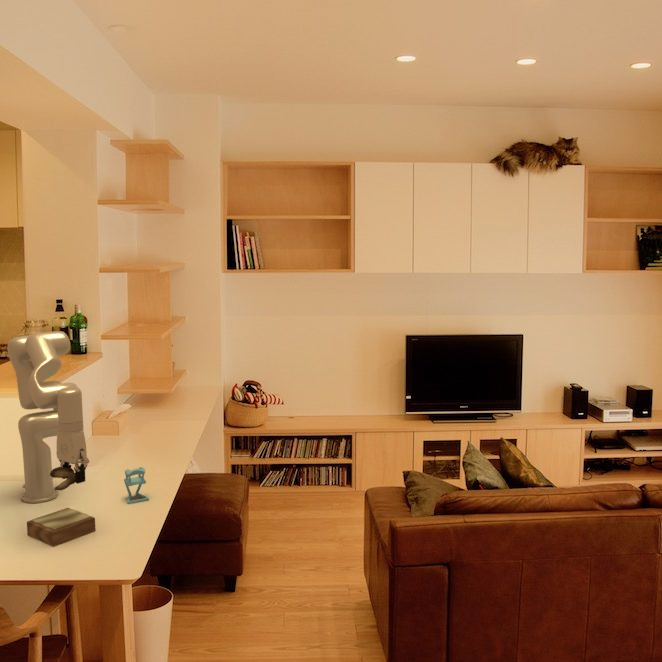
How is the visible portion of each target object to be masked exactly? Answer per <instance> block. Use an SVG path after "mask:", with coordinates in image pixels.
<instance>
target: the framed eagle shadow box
mask: <svg viewBox="0 0 662 662" xmlns="http://www.w3.org/2000/svg"><path fill="white" fill-rule="evenodd" d="M94 532H96V517H94V516H92V515H88V514H86V513H84V512H81V511H78V510H75V509H73V508H70V507H66V508H63V509H60V510H56V511H53V512H50V513H48V514H45V515H42V516H39V517H35V518H33V519H31V520H30V519H29V520H28V521H27V520H26V533H27V536H29V537H31V538H34V539H36V540H38V541H41V542H43V543H45V544H47V545H49V546H52V547H57V546H60V545H62V544H64V543H67V542H70V541H72V540H75V539H78V538H80V537H83V536H86V535H88V534H91V533H94Z"/></svg>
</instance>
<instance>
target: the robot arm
mask: <svg viewBox="0 0 662 662" xmlns="http://www.w3.org/2000/svg"><path fill="white" fill-rule="evenodd" d="M70 350H71V342H70V338H69V336H68V335H67V333H65V332H64V331H61V330H59V331H58V330H57V331H56V330H55V331H44V332H37V333H35V332H34V333H33V334H30V335H29V334H28V335H20V336H15V337H13V338H11V339H9V340H8V342H7V355H8V358H9V360H10V363H11V365H12V367H13V369H14V372H15V375H16V382H17V383H16V384H17V390H18V391H17V394H18V400H19V403H20V406H21V408H23V409H24V410H37V409H39V410H47V409H52V410H47V411H38V412H37V411H36V412H32V413H28V414H25V415H23V416H22V417H20V418H19V420H18V422H17V428H18V432H19V436H20V440H21V448H22V449H21V450H22V457H23V458H22V459H23V460H22V462H23V476H24V484H23V485H22V488H23V489H24V493H23V494H22V495H21V497H20V499H21V501H22V502H24V503H29V504H39V503H45V502H49V501H51V500H53V499H56V498H57V497H58V496H59V492H58V491H59V490H54V481H53V480H54V477H52V476H50V475H49V474H50V472H51V471H52V470H53V462H52V449H51V447H50V446H49V444H47V443H46V442H45V441H44V439H47V438H51V437H56V458H57V459H58V461H59V462H60V463H59V464H60V466H59V467H64V468H72V465H74V467H75V468H76V470H77V471H76V472H75V471H74V473H75V475H76V482H75V483H76V484H81V483H84V482H86V470H87V467H88V465H89V463H90V460H89V457H88V456H87V454H88V453H87V442H86V436H85V433H84V414H83V394H82V390H81V389H80V388H79V387H78V385H77V384H75V383H74V382H64V383H62V382H61V381H59V380H48V379H49V378H51V377H53V376H54V375H56V374H57V373H59V372H60V369H61V368H62V360H61V359H60V356H64V355H67V354H69V352H70ZM46 380H47V381H46ZM71 464H72V465H71ZM79 464H80V465H79ZM61 479H62V480H66V479H67V478H61Z"/></svg>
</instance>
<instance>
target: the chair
mask: <svg viewBox="0 0 662 662" xmlns="http://www.w3.org/2000/svg"><path fill="white" fill-rule="evenodd" d="M145 469H146V468H145V467H143V466H141V467H139V468H134V469H131V470H130V469H128V468H127V469H125V470H124V474H125V479H123V481H124V485H125V488H126V490H127V494H128V497H127V500H126V501H127V502H126V504H127V505H133V504H138V503H144V502H148V501H150V497H149V496H146V495H143V494H141V493H139V492H140V490H141V487H142V485H145V484H147V480H146V479H145V477H144V476H145V473H146V470H145ZM135 475H138V476H136V477H132V476H135ZM136 485H137V488H136V491H135V497H139V499H138V498H137V499H133V500H132V492H131V489H130V487H133V486H136Z"/></svg>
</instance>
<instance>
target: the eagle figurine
mask: <svg viewBox="0 0 662 662" xmlns="http://www.w3.org/2000/svg"><path fill="white" fill-rule="evenodd" d="M76 471H77V470H76V467H75V466H74V467H73V468H72V467H71V468H64V467H61V466H57V467H55V468H52V471H51V472H50V474H49V475H50V476H52V477H53V479H54V478H57V479H62V478H66V479H64V481H62V482H61V483H60V484H58V485H56V486H55V487H53V489H54V490H57V491H63V490H65V489H67V488H68V487H70V486H72V485H74V484H75V483H76V475H75V472H76Z"/></svg>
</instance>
